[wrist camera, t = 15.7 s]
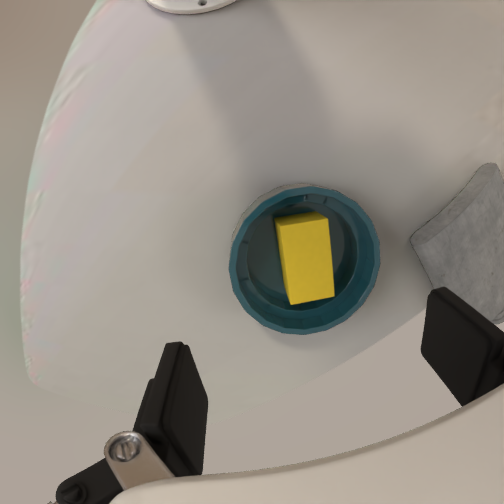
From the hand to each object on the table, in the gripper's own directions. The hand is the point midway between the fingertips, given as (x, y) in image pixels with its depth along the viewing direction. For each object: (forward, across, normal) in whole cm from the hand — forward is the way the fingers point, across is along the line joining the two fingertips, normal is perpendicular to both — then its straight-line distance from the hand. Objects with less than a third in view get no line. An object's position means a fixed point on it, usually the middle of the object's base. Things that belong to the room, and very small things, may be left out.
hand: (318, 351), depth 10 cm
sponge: (+18, -3, +2) cm, 19 cm away
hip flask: (+17, -21, 0) cm, 27 cm away
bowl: (+19, -3, +3) cm, 19 cm away
